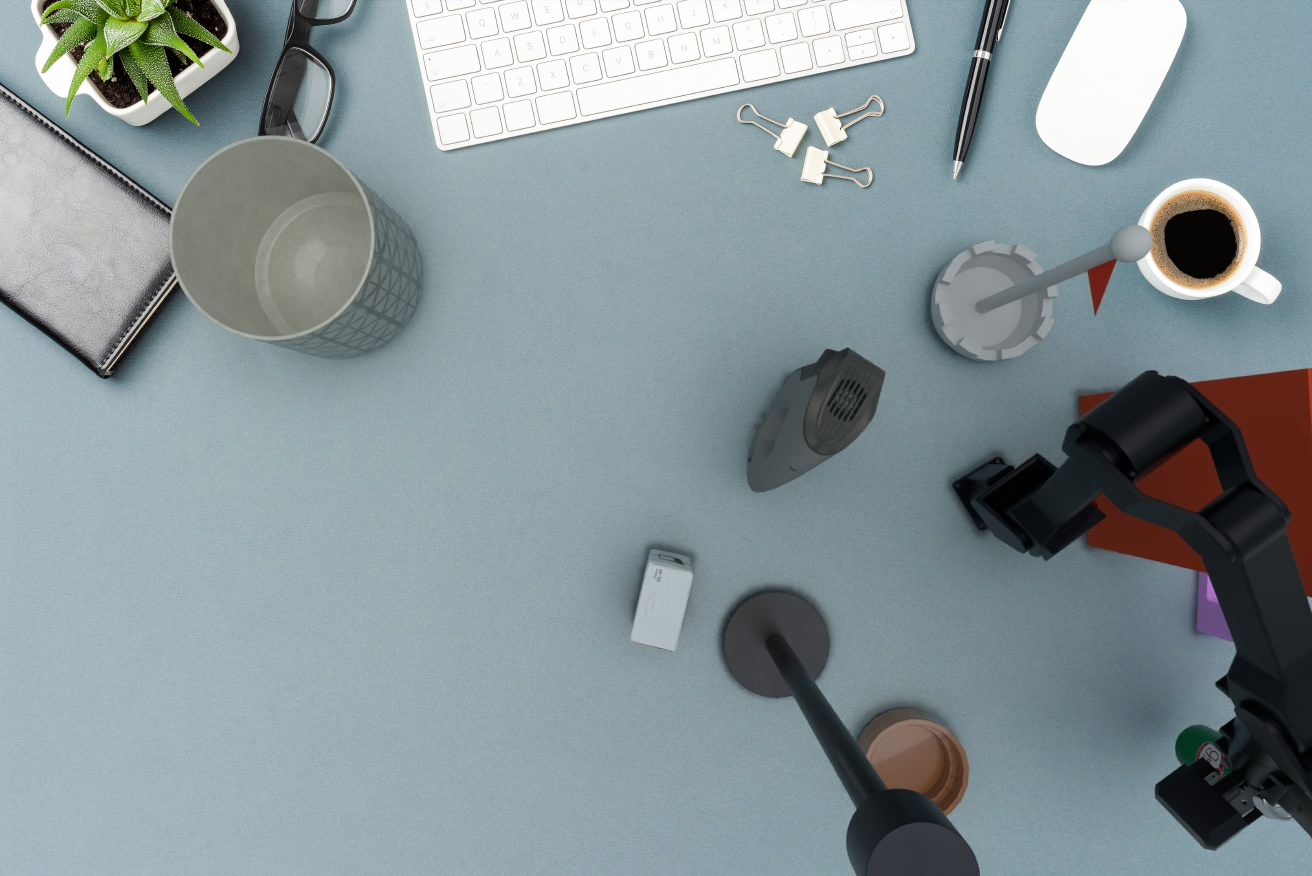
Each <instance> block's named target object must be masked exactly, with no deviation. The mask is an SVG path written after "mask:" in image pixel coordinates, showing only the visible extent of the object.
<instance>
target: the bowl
mask: <svg viewBox="0 0 1312 876" xmlns="http://www.w3.org/2000/svg"><path fill="white" fill-rule="evenodd" d="M856 743H857V744H858V746H859V747H860V749H861V750H862V751H863V753H864V754H865V756H866V757H867V759H868V760H869V762H870V763H871V765H872V766H873V767H874V769H875V770H876V772H877V773H878V775H879V776H880V778H881V779H882V781H883V782H884V783H885V785H886V786H887V788H888V789H897V788H899V789H909V790H913V791H916V792H919V793H921V794H923V795H925V796H926V797H928V798H929V799H931V800H932V801H933V802H934V803H935V804H936V805H937V806H938V807H939V808H940V809H941V810H942V812H943V813H944V814H945V815H946V817H947V816H949V815H950V814H952V813H953V812H954V810H955V809H956V808H957V807H958V806H959V804H960V803H961V802H962V801H963V798H964V796H965V793H966V791H967V790H968V789H967V788H968V786H969V776H970V765H969V762H968V757H967V753H966V751H965V749H964V747H963V745H962V743H960V740H959V739H958V737H956V736H955V735H954V734H953V732H951V731H950V730H949V729H948V727H946V726H945V725H944V724H943V723H942V722H940V720H938V719H937V718H936V717H935V716H934V715H932V714H930V713H927V712H925V711H923V710H920V709H917V708H906V707H901V708H896V709H891V710H888V711H885V712H884V713H882V714H880V715H879V716H876V717H875V718H873V719H872V720H871V721H870V722H869V723H868V725H867V726H866V727H865V728H864V729H863V731H862V732H861V733H860V736H859V739H858V741H857V742H856Z"/></svg>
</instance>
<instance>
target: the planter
mask: <svg viewBox="0 0 1312 876" xmlns="http://www.w3.org/2000/svg"><path fill="white" fill-rule="evenodd" d="M168 250H169V257H170V263H171V266H172V269H173V272H174V275H175V277H176V280H177V282H178V284H179V286H180V288H181V290H182V291H183V293H184V294H185V296H186V297H187V299H188V300H189V301H190V302H191V304H192V305H193V306H194V307H195V308H196V310H198V312H200V313H201V315H203V316H204V317H205V318H206V319H207V320H209V321H211V322H212V323H213V324H215V325H216V326H218V327H220V328H221V329H223V330H225V331H227V332H229V333H231V334H234V335H238V336H240V337H243V338H246V339H250V340H255V341H257V342H261V343H266V344H269V345H273V346H277V347H280V348H284V349H288V350H291V351H295V352H299V353H301V354H307V355H310V356H314V357H317V358H323V359H331V360H344V359H345V360H346V359H353V358H358V357H361V356H364V355H367V354H370V353H372V352H374V351H376V350H378V349H380V348H383V346H385V345H387V344H388V343H389V342H390V341H392V340H393V339H394V338H395V337H396V336H398V335H399V334H400V332H402V330H403V329H404V328H405V327H406V325H407V324H408V322H409V321H410V319H411V318H412V316H413V315H414V313H415V311H416V309H417V306H418V303H419V300H420V297H421V293H422V289H423V282H424V281H423V280H424V279H423V278H424V269H423V267H424V265H423V260H422V259H423V258H422V254H421V250H420V247H419V245H418V242H417V238H416V237H415V235H414V233H413V232H412V229H411V228H410V226H409V225H408V224H407V222H406V220H404V219H403V218H402V216H400V214H399V213H398V212H397V211H395V209H394V208H392V206H390V204H388V203H387V202H386V201H384V199H382V198H381V196H379V195H378V193H376V192H375V191H374V190H372V188H371V187H369V186H368V185H367V184H366V182H364V181H363V180H362V179H361V178H359V177H358V175H356V174H355V173H354V172H353V171H352V170H351V169H350V168H349V167H347V166H346V165H345V164H344V163H343V162H342V161H341V160H340V159H339V158H337V157H336V156H335V155H333V154H332V153H330V152H329V151H327V150H325V149H324V148H322V147H320V146H318V145H316V144H314V143H311V142H309V141H306V140H303V139H300V138H296V137H292V136H285V135H258V136H253V137H248V138H244V139H240V140H238V141H234V142H232V143H230V144H228V145H226V146H224V147H222V148H220V149H218V150H217V151H214V153H212V154H210V155H209V156H207V158H206V159H205V160H203V161H202V162H201V163H200V164H199V165H197V167H196V168H195V169H194V171H193V172H192V173H191V174H190V175H189V177H188V178H187V179H186V180H185V182H184V184H183V185H182V187H181V189H180V191H179V193H178V195H177V197H176V200H175V201H174V205H173V207H172V211H171V215H170V219H169V225H168Z"/></svg>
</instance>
